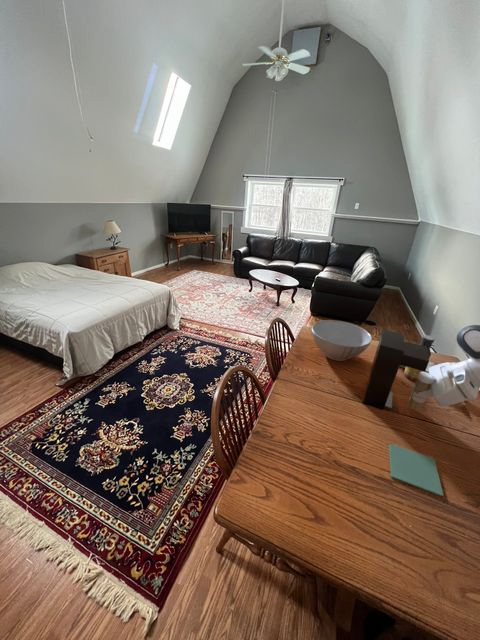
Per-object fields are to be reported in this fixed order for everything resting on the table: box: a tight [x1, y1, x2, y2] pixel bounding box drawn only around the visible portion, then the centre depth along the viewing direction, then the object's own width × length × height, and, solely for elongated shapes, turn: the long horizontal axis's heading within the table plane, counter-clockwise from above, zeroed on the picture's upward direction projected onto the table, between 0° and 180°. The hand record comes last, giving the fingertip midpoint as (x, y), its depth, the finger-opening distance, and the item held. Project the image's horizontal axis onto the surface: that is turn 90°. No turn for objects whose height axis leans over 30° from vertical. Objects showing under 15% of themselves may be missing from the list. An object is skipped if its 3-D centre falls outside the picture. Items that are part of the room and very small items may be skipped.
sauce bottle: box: [403, 334, 436, 382], centre depth 111 cm, size 7×6×20 cm
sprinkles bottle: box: [407, 372, 435, 411], centre depth 94 cm, size 5×5×13 cm
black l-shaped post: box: [362, 329, 430, 411], centre depth 96 cm, size 14×14×25 cm
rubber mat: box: [388, 443, 444, 498], centre depth 76 cm, size 12×12×1 cm
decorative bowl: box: [311, 319, 373, 362], centre depth 128 cm, size 27×27×12 cm
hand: (418, 390), depth 94 cm, fingers closed on sprinkles bottle, 4 cm apart
